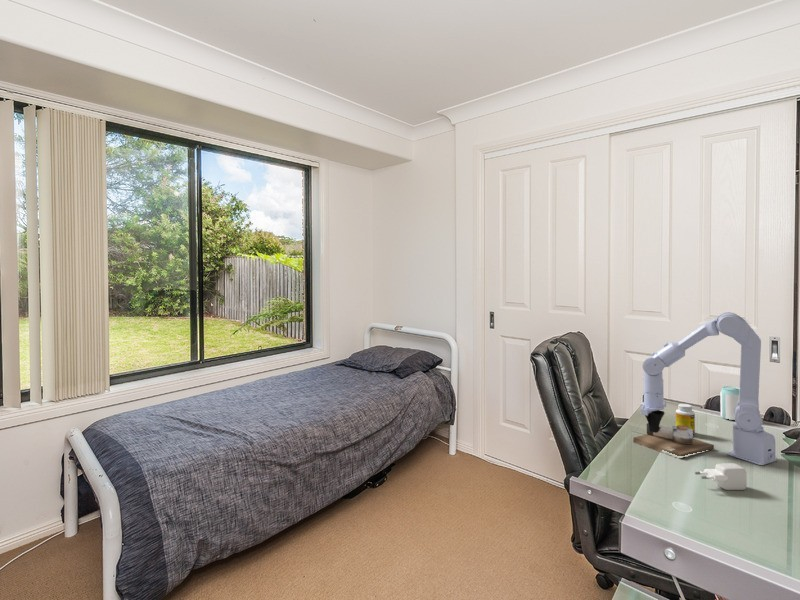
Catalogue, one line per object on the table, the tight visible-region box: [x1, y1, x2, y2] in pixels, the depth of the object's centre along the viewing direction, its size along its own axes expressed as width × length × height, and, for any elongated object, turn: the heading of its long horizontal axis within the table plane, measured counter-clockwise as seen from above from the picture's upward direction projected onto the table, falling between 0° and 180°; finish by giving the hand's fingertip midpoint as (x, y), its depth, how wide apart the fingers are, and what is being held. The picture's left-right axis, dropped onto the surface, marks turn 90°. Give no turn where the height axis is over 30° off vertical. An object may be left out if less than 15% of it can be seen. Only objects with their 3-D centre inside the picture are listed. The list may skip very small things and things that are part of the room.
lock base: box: [632, 433, 715, 456], centre depth 139 cm, size 16×16×2 cm
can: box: [719, 386, 739, 421], centre depth 161 cm, size 7×7×12 cm
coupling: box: [646, 422, 694, 444], centre depth 140 cm, size 13×6×5 cm, turn 38°
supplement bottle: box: [675, 403, 696, 435], centre depth 148 cm, size 6×6×10 cm
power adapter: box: [694, 462, 748, 491], centre depth 110 cm, size 11×5×6 cm, turn 87°
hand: (653, 431), depth 143 cm, fingers closed
